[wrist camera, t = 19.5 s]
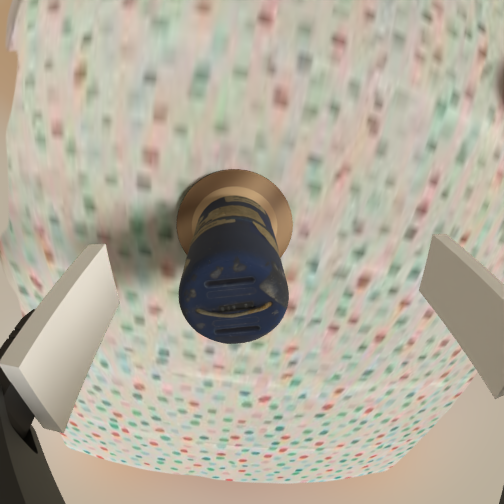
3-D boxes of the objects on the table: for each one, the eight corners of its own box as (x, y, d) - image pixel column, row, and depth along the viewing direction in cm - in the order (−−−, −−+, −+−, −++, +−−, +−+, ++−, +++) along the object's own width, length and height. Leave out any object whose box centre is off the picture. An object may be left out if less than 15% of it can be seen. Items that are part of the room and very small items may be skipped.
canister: (201, 187, 39) (175, 254, 22) (278, 197, 40) (305, 270, 23) (194, 256, 43) (172, 350, 27) (264, 264, 44) (278, 361, 28)
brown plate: (155, 222, 41) (153, 224, 40) (239, 144, 37) (239, 145, 36) (231, 293, 47) (231, 296, 46) (314, 230, 43) (315, 232, 42)
